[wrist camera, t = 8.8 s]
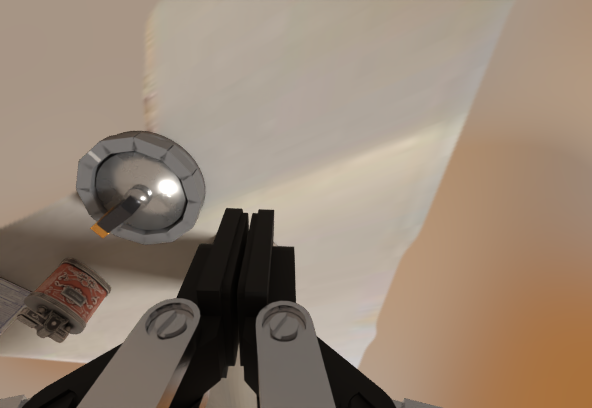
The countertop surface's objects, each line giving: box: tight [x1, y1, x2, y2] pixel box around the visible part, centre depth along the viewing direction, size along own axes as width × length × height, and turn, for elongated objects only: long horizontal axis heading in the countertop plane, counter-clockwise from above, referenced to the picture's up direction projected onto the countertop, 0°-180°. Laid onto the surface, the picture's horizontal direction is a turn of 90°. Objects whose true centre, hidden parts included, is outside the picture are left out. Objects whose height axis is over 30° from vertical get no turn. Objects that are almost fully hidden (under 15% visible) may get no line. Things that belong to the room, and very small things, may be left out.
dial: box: [90, 151, 188, 238], centre depth 36 cm, size 10×10×5 cm
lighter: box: [17, 258, 111, 343], centre depth 42 cm, size 8×3×10 cm, turn 34°
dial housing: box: [76, 131, 205, 245], centre depth 38 cm, size 14×14×3 cm
